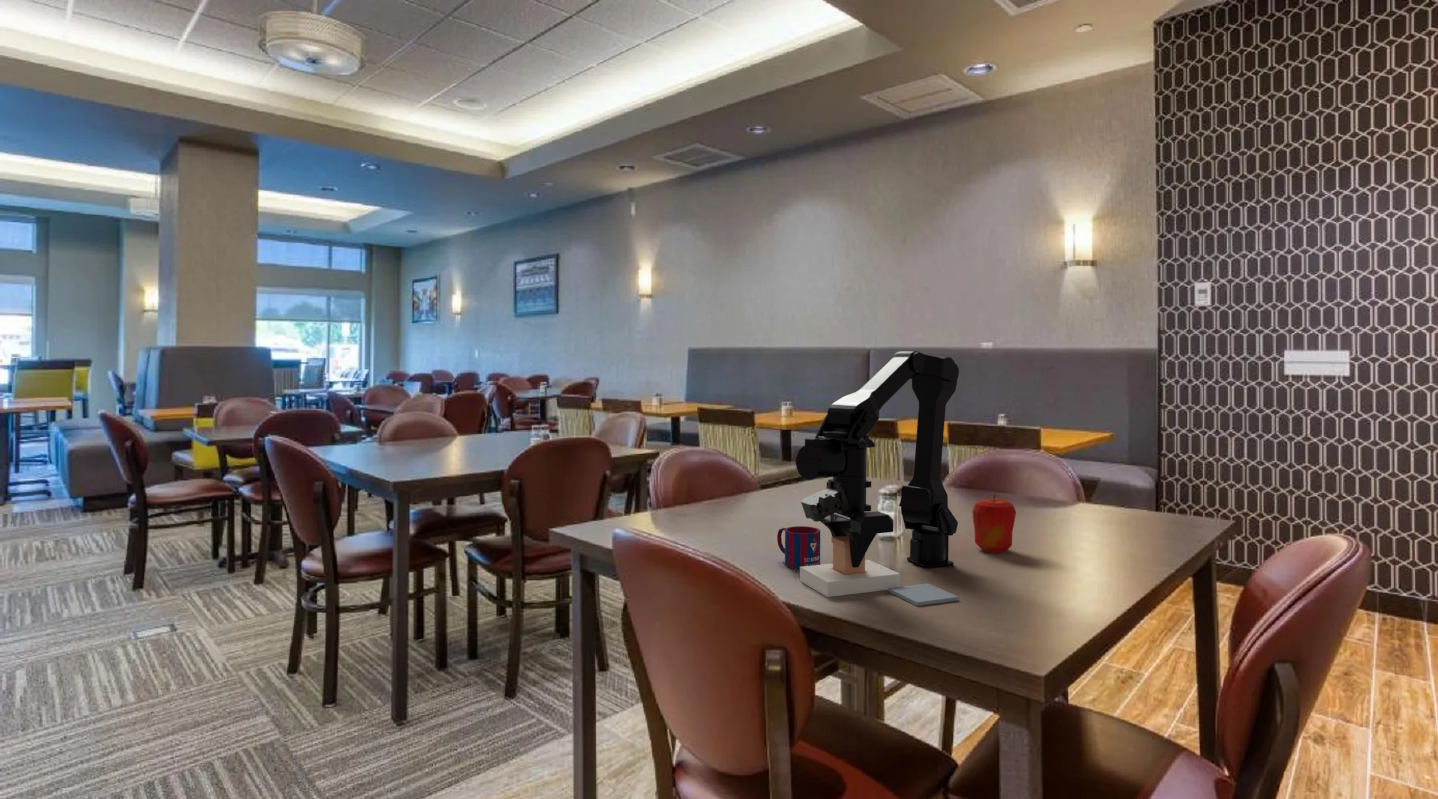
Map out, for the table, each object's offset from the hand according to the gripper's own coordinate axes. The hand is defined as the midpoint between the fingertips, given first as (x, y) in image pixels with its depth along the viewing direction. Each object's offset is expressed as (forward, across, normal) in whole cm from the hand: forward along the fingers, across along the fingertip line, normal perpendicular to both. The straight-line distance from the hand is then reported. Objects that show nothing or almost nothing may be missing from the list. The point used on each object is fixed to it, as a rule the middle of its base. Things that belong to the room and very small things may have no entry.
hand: (848, 564), depth 128 cm
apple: (+4, -11, +40) cm, 42 cm away
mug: (+4, -16, -2) cm, 17 cm away
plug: (+4, 0, 0) cm, 4 cm away
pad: (+4, +10, +8) cm, 13 cm away
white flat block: (+4, 0, 0) cm, 4 cm away
